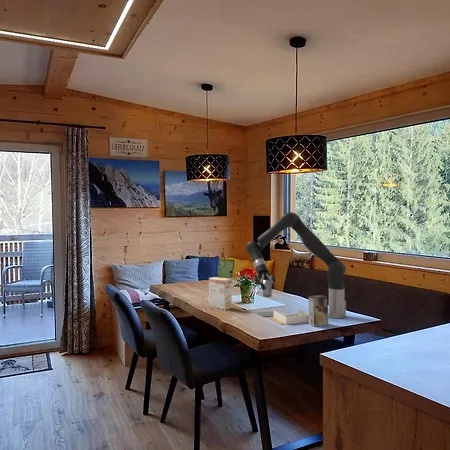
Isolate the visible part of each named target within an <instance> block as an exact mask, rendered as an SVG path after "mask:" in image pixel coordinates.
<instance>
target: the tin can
mask: <svg viewBox="0 0 450 450" xmlns="http://www.w3.org/2000/svg"><path fill="white" fill-rule="evenodd" d="M263 284H264V287H265V290H263V289H262V297H263V298H272V297H273V290H272V279H271V280H269V279H265V280H263Z"/></svg>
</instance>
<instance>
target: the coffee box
mask: <svg viewBox="0 0 450 450" xmlns="http://www.w3.org/2000/svg"><path fill="white" fill-rule="evenodd" d="M308 313H309V322H308V325H310V326H312V327H323V326H329V296H326V295H322V294H319V295H308Z"/></svg>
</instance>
